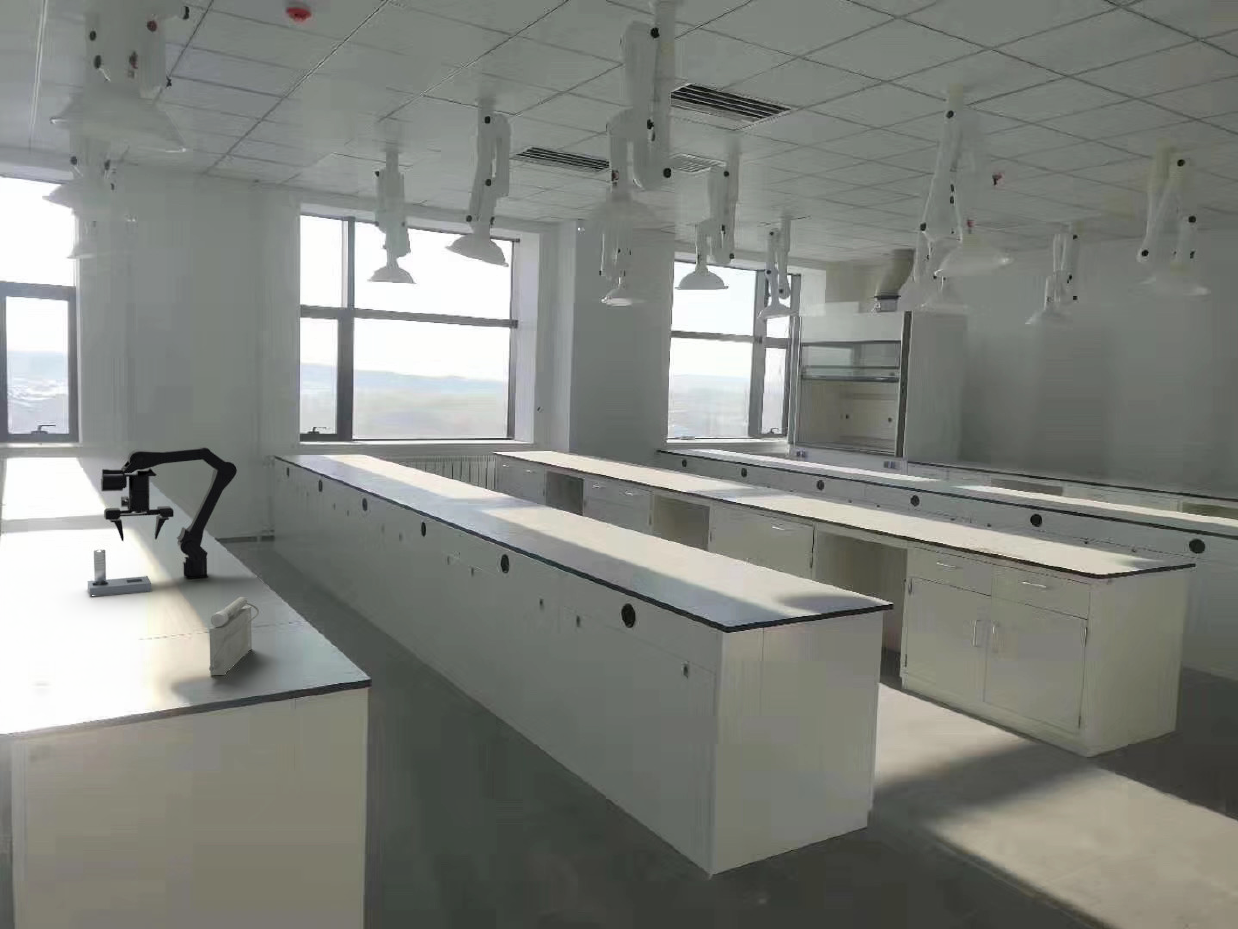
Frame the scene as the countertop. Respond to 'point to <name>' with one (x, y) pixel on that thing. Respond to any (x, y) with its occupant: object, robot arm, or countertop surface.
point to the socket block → (120, 586)
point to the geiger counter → (230, 636)
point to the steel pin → (100, 567)
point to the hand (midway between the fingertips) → (139, 540)
